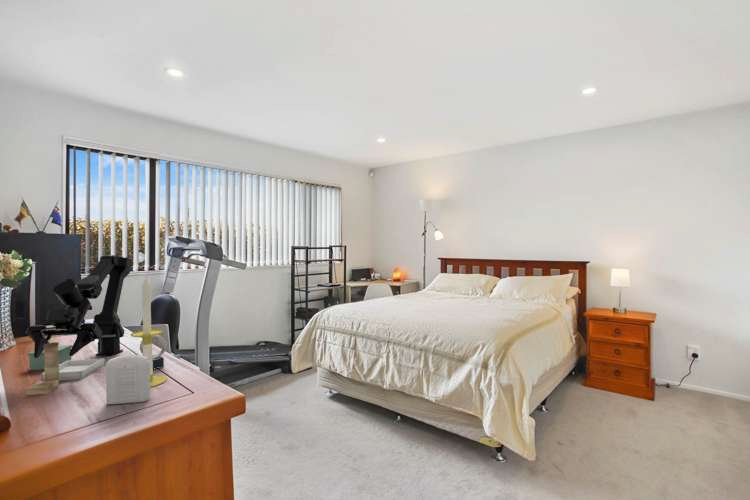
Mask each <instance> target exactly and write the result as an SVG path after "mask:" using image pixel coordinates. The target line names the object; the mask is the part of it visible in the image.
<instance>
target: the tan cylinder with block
mask: <svg viewBox="0 0 750 500" xmlns="http://www.w3.org/2000/svg"><path fill="white" fill-rule="evenodd" d="M58 346H60V345H59V342H54V341H53V342H49V343H47V344H44V365H45V369H44V372H45V381H41V380H40V381H37V382H35V383H34V384H31V385H29V386H27V387H26V389H25V390H26V396H35V395H44V394H45V395H46V394H49V393H51V392H52V391H54V390H56V389H57V388H59V386H60V381H59V357H58Z"/></svg>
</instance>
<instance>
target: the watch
mask: <svg viewBox="0 0 750 500" xmlns="http://www.w3.org/2000/svg"><path fill="white" fill-rule="evenodd" d="M152 338H154V340H155V342H156V343H157V344H158V346H160V347H161V350H160V352H159V353H157V354H155V355H152V359H153V369H154V368H157V367H162V366H165V363H164V362H165V360H164V358H165V357H163V355H164V354H165V352H166V350H167V346H168V343H167V341H166V340H165V339H164V337H162V335H161V334H158V335H154V336H152ZM139 351H140V353H141V355H143V339H142V340H141V342H140V344H139ZM162 368H163V367H162ZM154 370H155V369H154Z"/></svg>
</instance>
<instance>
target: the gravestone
mask: <svg viewBox="0 0 750 500" xmlns="http://www.w3.org/2000/svg"><path fill="white" fill-rule="evenodd" d="M105 373H106V374H105V378H106V380H105V381H106V383H105V385H106V386H105V387H106V388H105V389H106V390H105V391H106V392H105V393H106V394H105V395H106V404H107V405H118V404H131V403H142V402H147V400H148V401H149V400H150V399H151V387H150V359H149V357H146V356H143V355H142V354H141V355H140V354H125V355H120V356H117V357H113V358H111V359H109V360H108V361H107V363H106V367H105Z"/></svg>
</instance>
